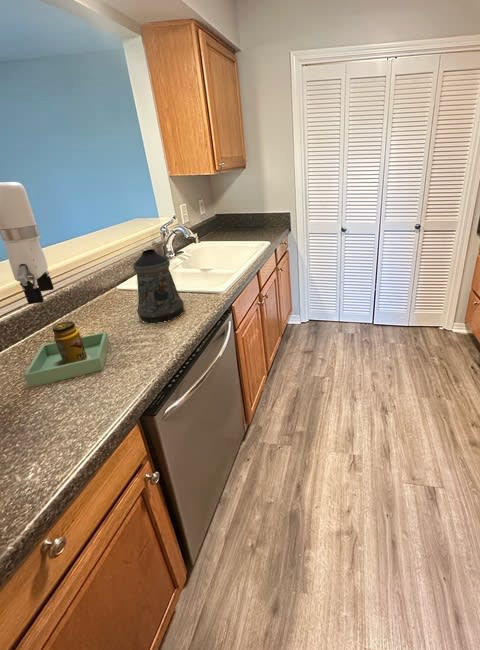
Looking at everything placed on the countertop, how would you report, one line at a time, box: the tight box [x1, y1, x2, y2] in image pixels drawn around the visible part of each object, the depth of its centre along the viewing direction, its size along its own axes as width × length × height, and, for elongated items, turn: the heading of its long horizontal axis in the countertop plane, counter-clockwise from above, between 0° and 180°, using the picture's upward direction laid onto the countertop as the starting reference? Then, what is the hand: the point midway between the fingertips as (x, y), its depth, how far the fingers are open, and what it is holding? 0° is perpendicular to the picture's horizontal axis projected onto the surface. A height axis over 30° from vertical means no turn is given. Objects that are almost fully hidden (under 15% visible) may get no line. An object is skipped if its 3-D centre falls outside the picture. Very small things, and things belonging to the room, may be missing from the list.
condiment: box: [52, 321, 92, 367], centre depth 94 cm, size 7×8×12 cm
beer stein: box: [132, 248, 185, 324], centre depth 121 cm, size 16×19×25 cm
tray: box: [23, 331, 110, 388], centre depth 96 cm, size 18×17×4 cm
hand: (42, 296), depth 87 cm, fingers open, 9 cm apart
